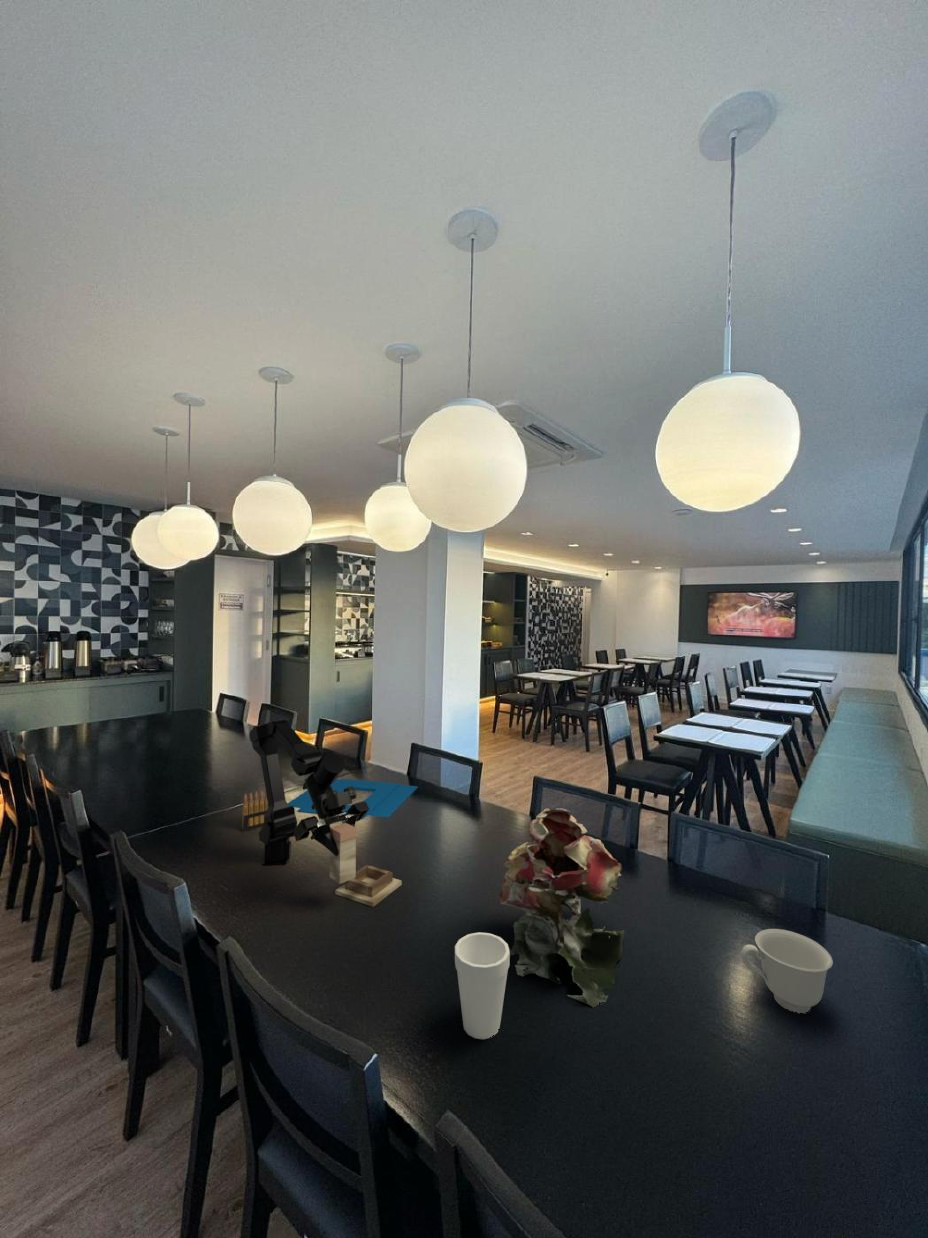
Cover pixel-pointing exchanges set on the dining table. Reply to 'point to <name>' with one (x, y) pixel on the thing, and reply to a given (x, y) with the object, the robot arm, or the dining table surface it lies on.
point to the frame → (379, 801)
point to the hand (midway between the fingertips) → (346, 852)
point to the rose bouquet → (560, 876)
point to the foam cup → (482, 981)
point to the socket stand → (369, 886)
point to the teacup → (790, 967)
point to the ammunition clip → (254, 812)
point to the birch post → (343, 853)
